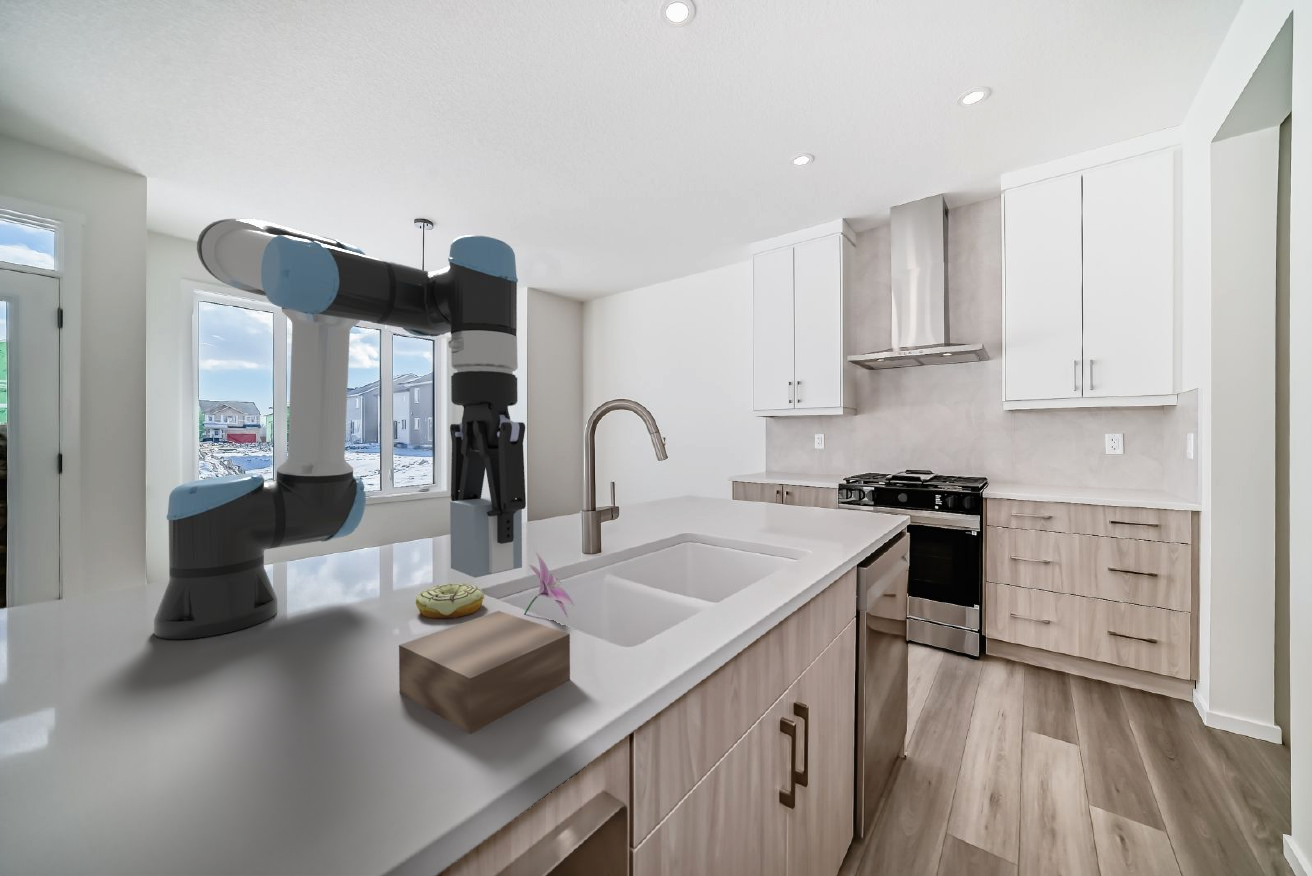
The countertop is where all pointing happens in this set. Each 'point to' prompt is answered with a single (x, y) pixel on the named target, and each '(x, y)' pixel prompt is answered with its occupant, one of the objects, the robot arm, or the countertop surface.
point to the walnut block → (483, 668)
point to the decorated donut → (449, 600)
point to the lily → (550, 586)
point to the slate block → (477, 537)
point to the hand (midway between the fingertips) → (486, 564)
